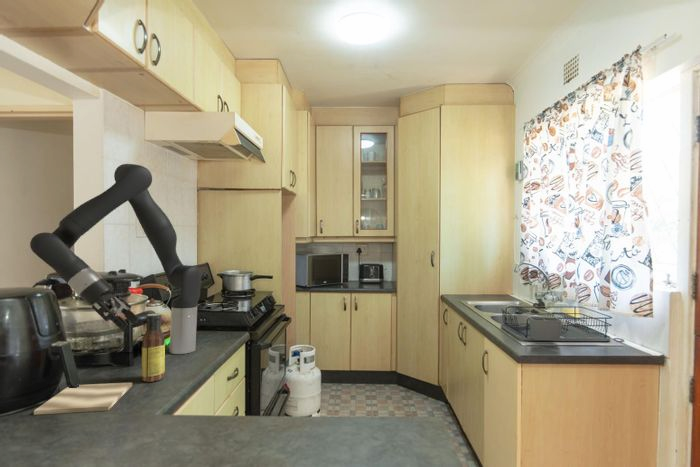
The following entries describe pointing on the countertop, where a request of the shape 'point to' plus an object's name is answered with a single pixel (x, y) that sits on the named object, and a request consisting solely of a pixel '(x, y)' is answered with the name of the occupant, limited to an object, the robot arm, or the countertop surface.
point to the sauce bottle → (153, 350)
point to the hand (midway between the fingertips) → (130, 324)
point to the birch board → (84, 398)
